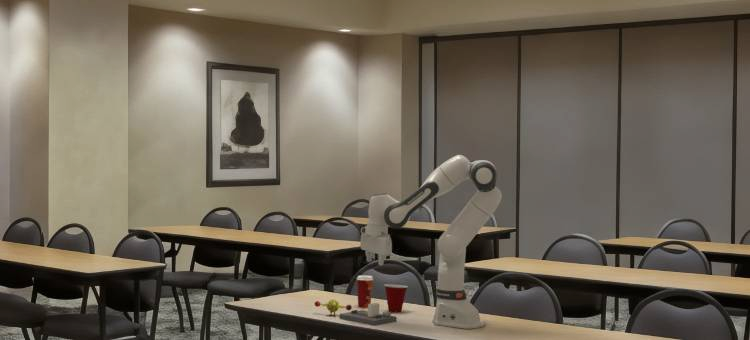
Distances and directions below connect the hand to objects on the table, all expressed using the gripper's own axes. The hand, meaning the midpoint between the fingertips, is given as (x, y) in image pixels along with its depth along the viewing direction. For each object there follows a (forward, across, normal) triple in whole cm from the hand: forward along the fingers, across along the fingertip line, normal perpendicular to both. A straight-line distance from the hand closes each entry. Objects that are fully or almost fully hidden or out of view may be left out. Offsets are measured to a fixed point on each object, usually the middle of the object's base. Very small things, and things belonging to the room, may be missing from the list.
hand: (374, 263), depth 404 cm
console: (+24, -2, +2) cm, 24 cm away
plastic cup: (+24, +12, -20) cm, 33 cm away
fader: (+21, -6, +2) cm, 22 cm away
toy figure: (+25, +13, +11) cm, 30 cm away
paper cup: (+25, +27, -13) cm, 39 cm away
